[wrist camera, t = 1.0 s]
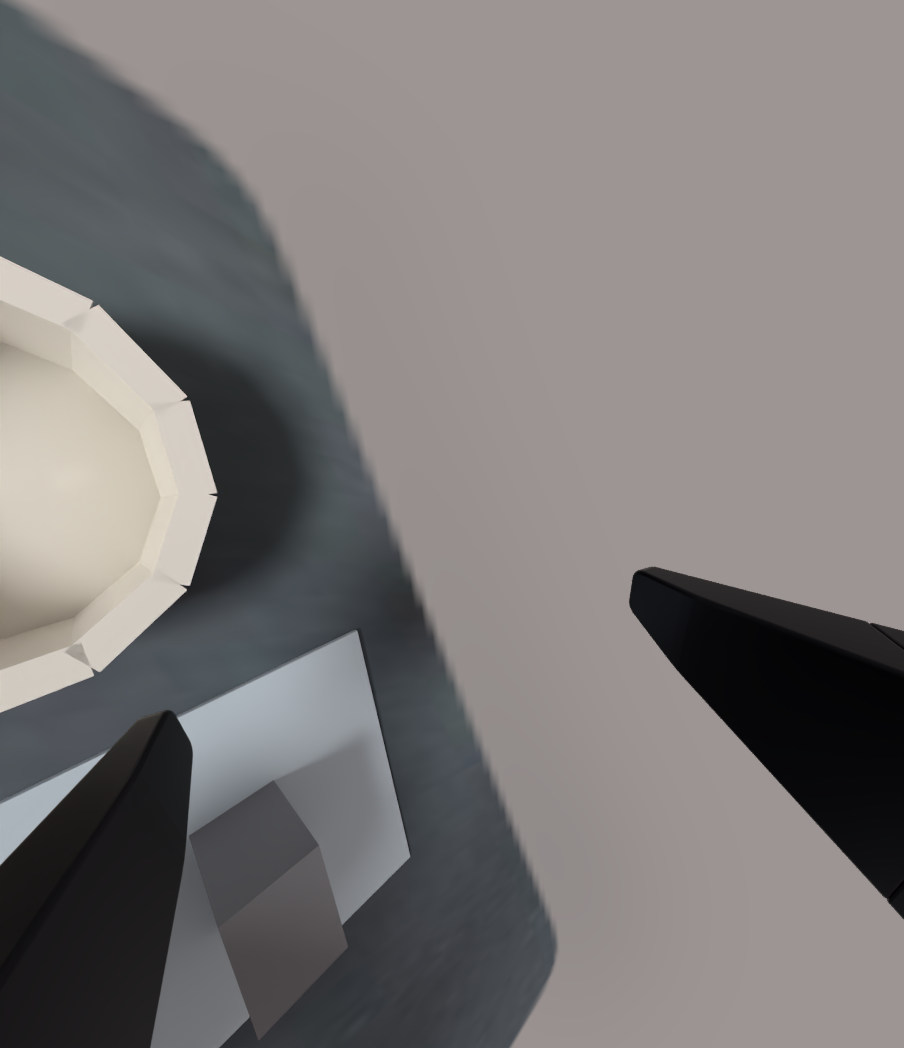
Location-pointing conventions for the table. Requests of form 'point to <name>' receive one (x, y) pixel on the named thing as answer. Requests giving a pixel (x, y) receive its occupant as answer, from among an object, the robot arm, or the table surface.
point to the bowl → (87, 488)
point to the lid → (264, 841)
